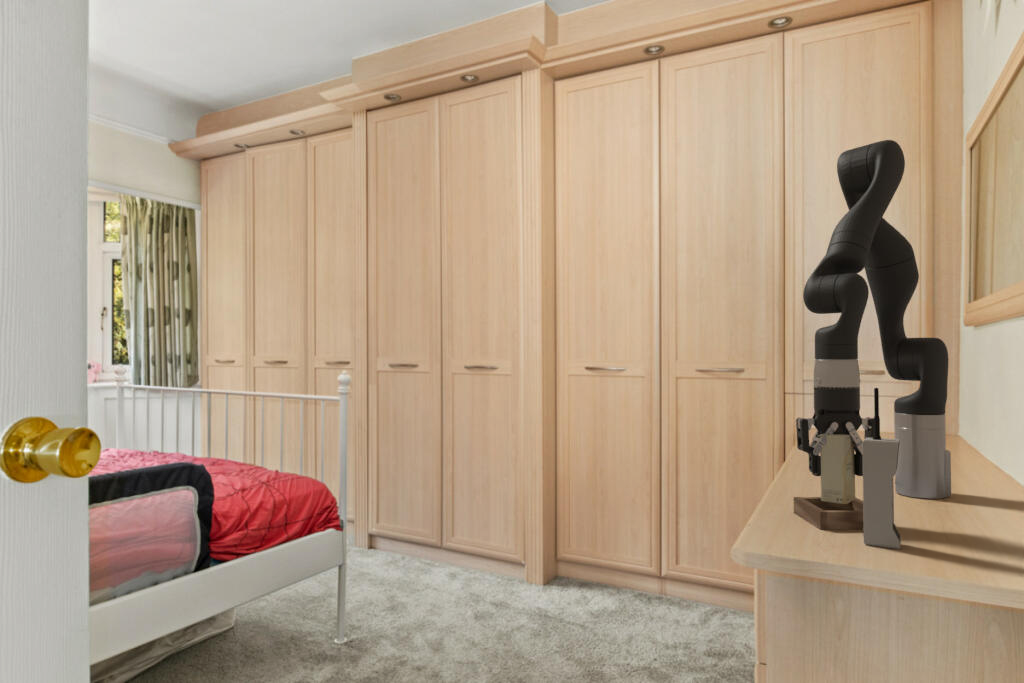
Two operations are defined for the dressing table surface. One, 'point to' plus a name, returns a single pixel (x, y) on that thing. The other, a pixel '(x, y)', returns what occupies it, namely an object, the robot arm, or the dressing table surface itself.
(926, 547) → the dressing table surface
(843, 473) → the skincare box
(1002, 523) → the dressing table surface
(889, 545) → the vintage mobile phone
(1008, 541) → the dressing table surface
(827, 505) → the walnut holder
